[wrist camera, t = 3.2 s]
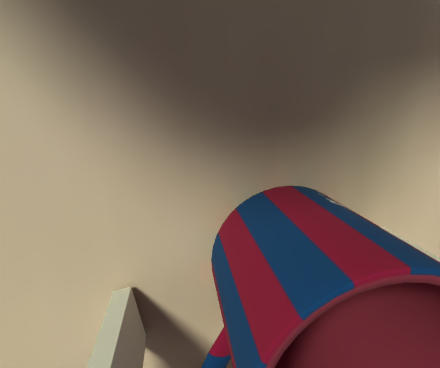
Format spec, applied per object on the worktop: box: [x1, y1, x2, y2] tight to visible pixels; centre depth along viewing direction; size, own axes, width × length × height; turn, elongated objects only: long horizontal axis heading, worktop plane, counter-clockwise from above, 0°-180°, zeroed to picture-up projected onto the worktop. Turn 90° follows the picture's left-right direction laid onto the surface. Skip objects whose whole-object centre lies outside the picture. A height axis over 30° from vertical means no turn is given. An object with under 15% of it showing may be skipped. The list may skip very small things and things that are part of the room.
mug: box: [201, 186, 440, 368], centre depth 10 cm, size 7×10×7 cm
